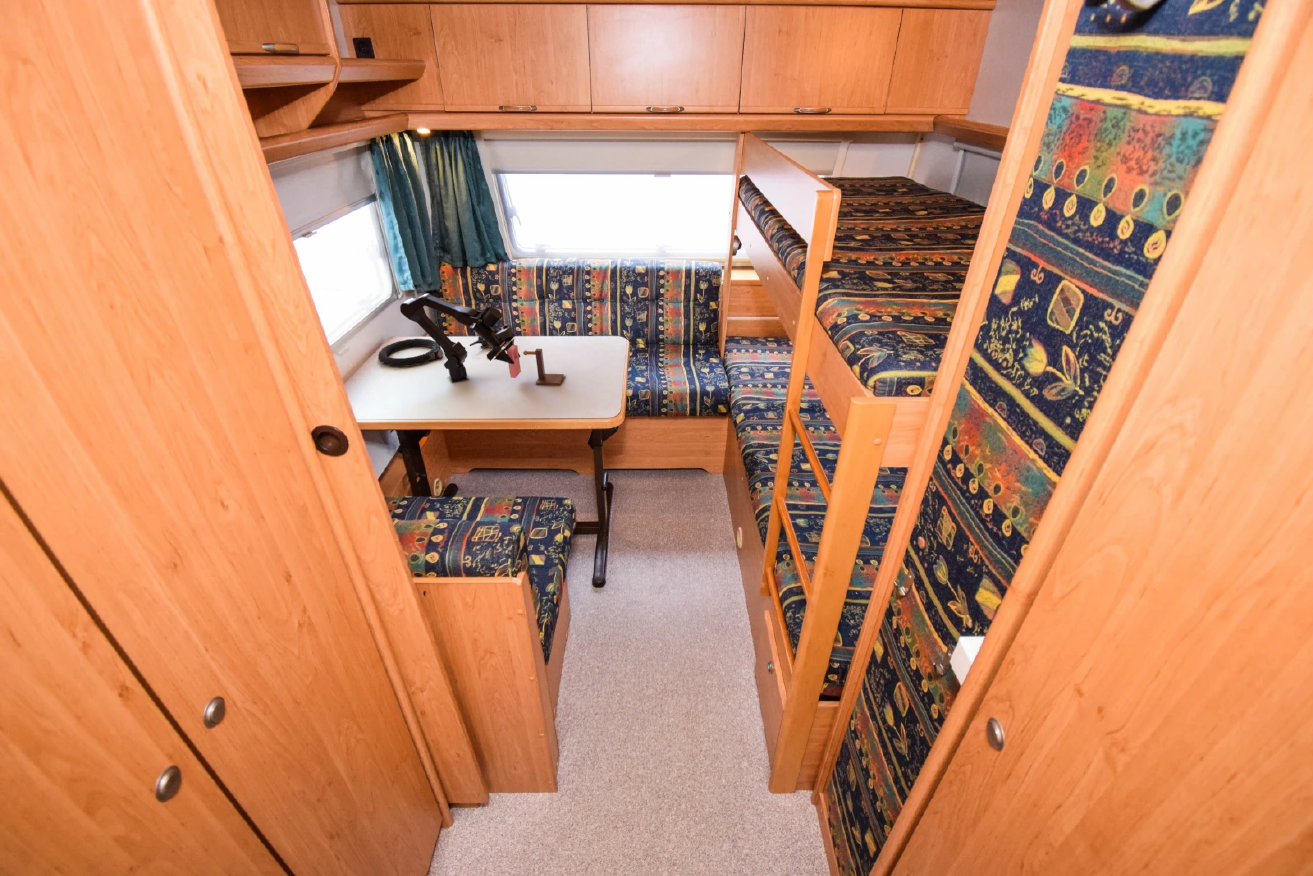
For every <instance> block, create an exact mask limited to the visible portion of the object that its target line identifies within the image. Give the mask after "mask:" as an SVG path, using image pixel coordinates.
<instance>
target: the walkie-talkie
mask: <svg viewBox="0 0 1313 876" xmlns="http://www.w3.org/2000/svg"><path fill="white" fill-rule="evenodd" d="M484 341H485V340H484V339H483V338H481V337H480V336H479V335H478V337H477V340H476V341H473V342H472V343H470V344H469V346H470V347H472V346H475V345H478V344H481V345H480V348H484V349H485V348H488V347H491V346H490V345H489V344H488V343H486V344H485V343H484Z"/></svg>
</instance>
